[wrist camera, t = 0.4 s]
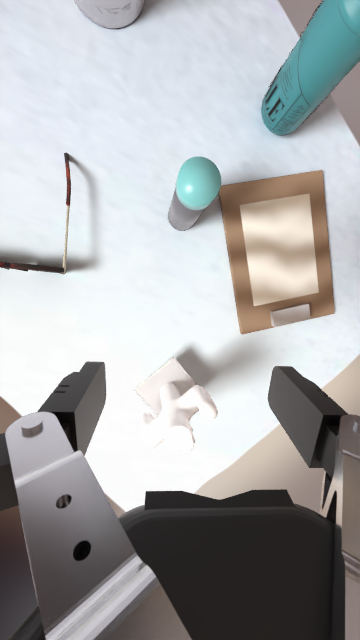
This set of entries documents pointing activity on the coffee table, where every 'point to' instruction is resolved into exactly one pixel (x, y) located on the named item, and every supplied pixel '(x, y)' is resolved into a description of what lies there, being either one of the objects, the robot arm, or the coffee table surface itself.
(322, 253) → the clipboard
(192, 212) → the grey capped container
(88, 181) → the coffee table surface
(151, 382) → the figurine
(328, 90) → the beverage bottle
